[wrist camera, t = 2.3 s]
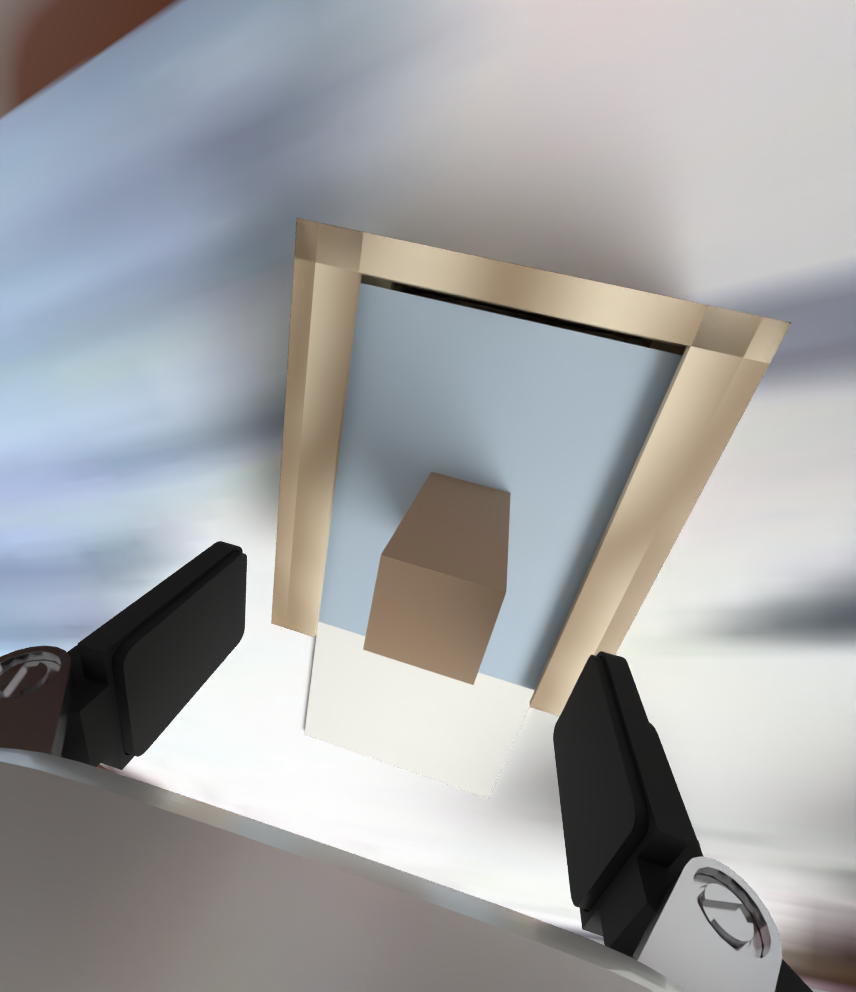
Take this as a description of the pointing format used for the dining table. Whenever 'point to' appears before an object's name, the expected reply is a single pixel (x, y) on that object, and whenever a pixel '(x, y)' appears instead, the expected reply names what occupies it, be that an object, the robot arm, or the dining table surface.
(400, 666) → the felt mat
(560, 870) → the dining table surface
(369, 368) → the lid
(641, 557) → the wooden tray
